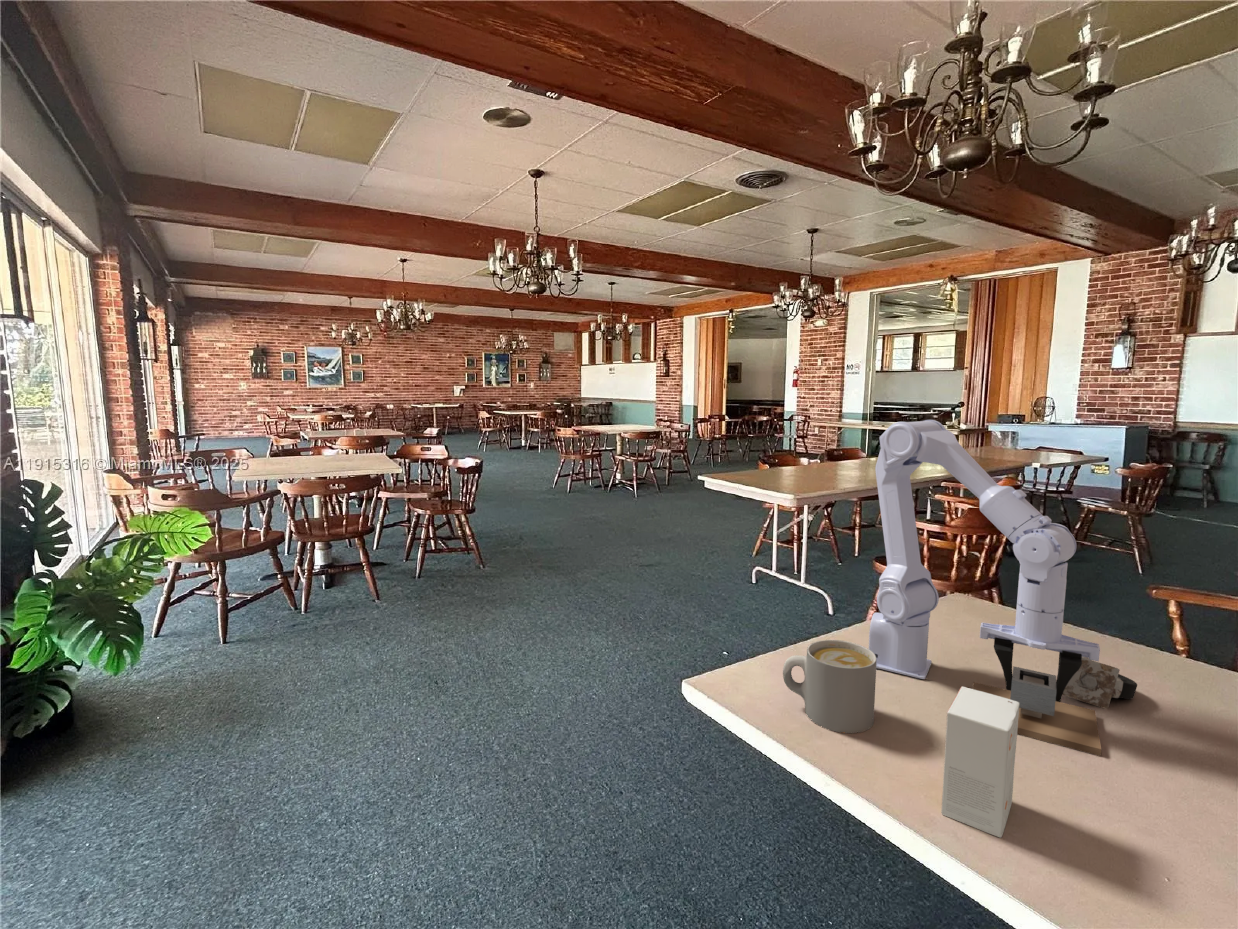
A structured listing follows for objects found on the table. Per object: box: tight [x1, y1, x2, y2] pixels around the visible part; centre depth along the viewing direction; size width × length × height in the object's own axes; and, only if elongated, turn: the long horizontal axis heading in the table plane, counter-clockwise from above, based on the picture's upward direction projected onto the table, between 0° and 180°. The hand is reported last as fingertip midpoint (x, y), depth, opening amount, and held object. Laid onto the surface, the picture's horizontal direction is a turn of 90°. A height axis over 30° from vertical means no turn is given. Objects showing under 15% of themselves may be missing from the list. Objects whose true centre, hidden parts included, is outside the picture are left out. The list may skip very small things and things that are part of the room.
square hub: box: [1010, 665, 1057, 716], centre depth 91 cm, size 5×5×4 cm
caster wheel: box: [1062, 657, 1138, 709], centre depth 99 cm, size 7×11×10 cm
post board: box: [971, 675, 1102, 757], centre depth 91 cm, size 16×12×6 cm
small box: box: [940, 686, 1019, 839], centre depth 72 cm, size 8×6×13 cm
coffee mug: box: [782, 639, 877, 734], centre depth 94 cm, size 13×10×10 cm
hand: (1032, 693), depth 91 cm, fingers closed on square hub, 5 cm apart
